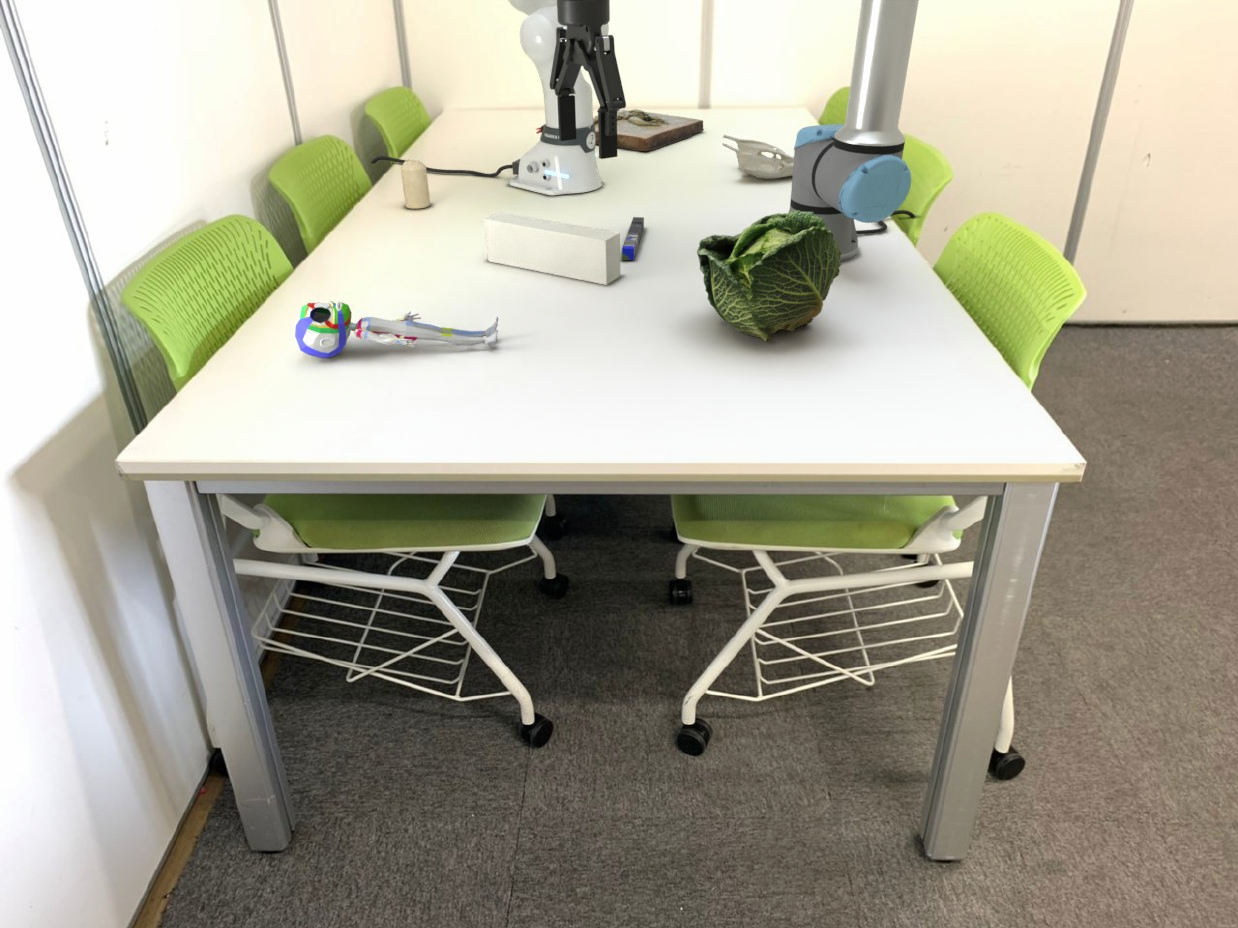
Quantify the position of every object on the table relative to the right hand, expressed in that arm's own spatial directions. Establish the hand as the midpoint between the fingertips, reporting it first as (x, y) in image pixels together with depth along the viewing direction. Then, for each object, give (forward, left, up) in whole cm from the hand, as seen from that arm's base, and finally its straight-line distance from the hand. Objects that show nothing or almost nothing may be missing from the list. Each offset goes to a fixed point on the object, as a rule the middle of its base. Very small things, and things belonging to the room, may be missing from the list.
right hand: (587, 148), depth 138 cm
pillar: (-16, -27, -26) cm, 41 cm away
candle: (+21, -69, -26) cm, 77 cm away
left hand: (-36, -50, +22) cm, 65 cm away
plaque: (-47, -118, -26) cm, 129 cm away
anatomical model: (-64, -64, -26) cm, 94 cm away
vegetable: (-23, +19, -26) cm, 39 cm away
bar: (+2, -19, -26) cm, 32 cm away
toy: (+33, +8, -26) cm, 42 cm away
